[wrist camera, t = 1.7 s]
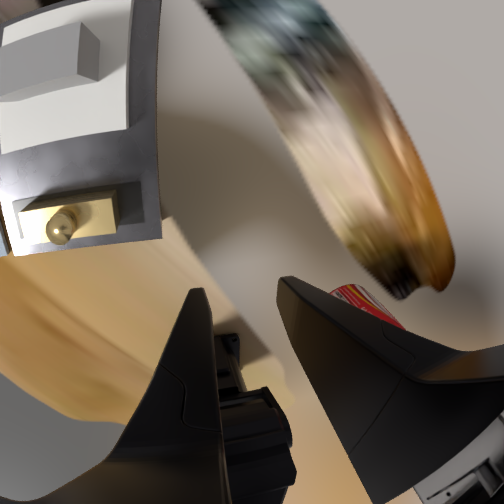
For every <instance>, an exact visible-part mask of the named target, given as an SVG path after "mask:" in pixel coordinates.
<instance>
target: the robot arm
mask: <svg viewBox="0 0 504 504" xmlns="http://www.w3.org/2000/svg"><path fill="white" fill-rule="evenodd" d="M276 300H277V301H276V302H277V306H278V309H279V312H280V315H281V318H282V320H283V323H284V326H285V329H286V331H287V335H288V337H289V340H290V342H291V345H292V347H293V349H294V351H295V353H296V355H297V357H298V359H299V361H300V363H301V365H302V367H303V369H304V371H305V373H306V375H307V377H308V379H309V381H310V383H311V385H312V387H313V389H314V391H315V393H316V394H317V396H318V399H319V400H320V402H321V404H322V406H323V408H324V410H325V412H326V414H327V416H328V418H329V420H330V422H331V424H332V426H333V427H334V430H335V431H336V434H337V436H338V437H339V439H340V441H341V443H342V445H343V447H344V449H345V451H346V453H347V454H348V457H349V459H350V461H351V463H352V465H353V467H354V468H355V471H356V473H357V474H358V476H359V478H360V480H361V482H362V484H363V486H364V488H365V490H366V492H367V494H368V495H369V497H370V499H371V501H372V503H373V504H385V503H387V502H389V501H390V500H392V499H394V498H395V497H397V496H399V495H400V494H402V493H404V492H405V491H407V490H408V489H410V488H412V487H413V488H414V490H415V491H416V493H417V494H418V496H419V498H420V500H421V501H422V503H423V504H504V344H503V345H499V346H495V347H490V348H486V349H482V350H477V351H460V350H456V349H452V348H450V347H447V346H444V345H442V344H439V343H437V342H434V341H431V340H428V339H426V338H424V337H421V336H418V335H416V334H414V333H411V332H409V331H406V330H404V329H402V328H400V327H397V326H395V325H393V324H391V323H389V322H387V321H385V320H383V319H382V320H381V319H380V318H378V317H376V316H374V315H372V314H370V313H368V312H366V311H364V310H362V309H360V308H358V307H356V306H354V305H352V304H349V303H347V302H345V301H343V300H341V299H339V298H337V297H335V296H333V295H331V294H329V293H327V292H325V291H323V290H321V289H319V288H316V287H314V286H312V285H310V284H308V283H306V282H304V281H302V280H300V279H298V278H296V277H294V276H285V277H280V279H279V281H278V288H277V299H276ZM233 338H235V339H233ZM239 346H240V339H239V336H238V334H227V335H221V336H214V335H213V321H212V312H211V308H210V305H209V302H208V299H207V296H206V293H205V290H204V288H202V287H201V288H193V289H190V290H189V292H188V294H187V296H186V299H185V301H184V303H183V306H182V308H181V310H180V312H179V315H178V317H177V319H176V322H175V324H174V326H173V329H172V331H171V334H170V336H169V338H168V341H167V343H166V345H165V348H164V350H163V353H162V355H161V358H160V360H159V362H158V365H157V367H156V369H155V372H154V374H153V377H152V379H151V381H150V383H149V386H148V388H147V390H146V392H145V394H144V396H143V398H142V399H141V401H140V403H139V405H138V407H137V408H136V410H135V412H134V414H133V415H132V417H131V419H130V421H129V422H128V424H127V426H126V427H125V429H124V431H123V433H122V434H121V436H120V438H119V440H118V442H117V443H116V445H115V446H114V448H113V450H112V451H111V452H110V454H109V455H108V456H107V457H106V458H105V459H104V460H103V461H102V462H101V463H99V464H98V465H96V466H95V467H93V468H92V469H90V470H88V471H87V472H85V473H83V474H82V475H81V476H79V477H77V478H75V479H74V480H72V481H70V482H69V483H67V484H65V485H64V486H62V487H60V488H58V489H57V490H55V491H53V492H51V493H50V494H48V495H46V496H44V497H41V498H39V499H35V500H31V501H15V500H10V499H8V498H4V497H1V496H0V504H282V503H283V500H284V498H285V495H286V492H287V489H288V486H291V485H293V484H294V483H295V479H296V474H297V471H296V468H295V465H294V463H293V460H292V457H291V453H290V450H289V448H291V447H292V433H291V429H290V425H289V422H288V420H287V418H286V415H285V414H284V412H283V410H282V409H281V407H280V406H279V404H278V403H277V401H276V400H275V398H274V396H273V395H272V393H271V392H270V390H269V389H268V387H267V386H266V387H261V389H257V390H252V391H247V388H246V385H245V382H244V380H243V377H242V374H241V371H240V368H239Z"/></svg>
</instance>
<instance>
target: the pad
mask: <svg viewBox="0 0 504 504" xmlns="http://www.w3.org/2000/svg"><path fill="white" fill-rule="evenodd" d="M9 253H10V252H9V249H8V246H7V242H6V239H5V235H4V231H3V228H2V224H1V220H0V256H7V255H8V254H9Z"/></svg>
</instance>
